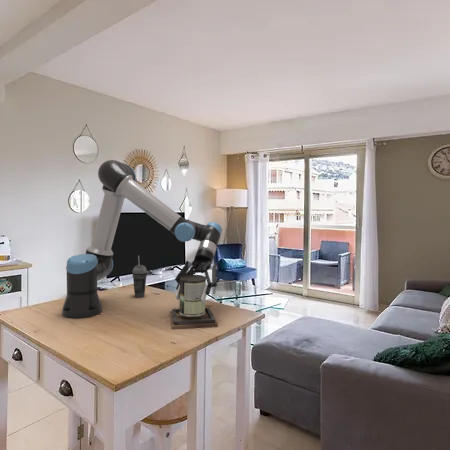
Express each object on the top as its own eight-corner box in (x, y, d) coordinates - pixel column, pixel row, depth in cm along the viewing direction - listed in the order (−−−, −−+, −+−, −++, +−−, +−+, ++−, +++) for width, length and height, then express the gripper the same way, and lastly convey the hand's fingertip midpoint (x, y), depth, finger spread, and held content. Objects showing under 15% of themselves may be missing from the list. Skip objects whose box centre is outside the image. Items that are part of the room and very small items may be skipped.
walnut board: (169, 314, 139) (169, 308, 139) (210, 312, 143) (210, 306, 143) (171, 329, 123) (171, 322, 123) (217, 326, 126) (217, 320, 126)
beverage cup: (136, 299, 160) (136, 257, 159) (129, 295, 166) (129, 255, 165) (149, 296, 165) (150, 256, 164) (142, 293, 171) (143, 254, 169)
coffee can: (173, 313, 131) (174, 277, 130) (190, 307, 140) (191, 273, 139) (194, 319, 125) (194, 281, 124) (210, 311, 134) (211, 276, 133)
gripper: (232, 260, 143) (219, 307, 129) (184, 256, 150) (166, 301, 136) (229, 249, 137) (215, 297, 123) (178, 246, 144) (160, 291, 130)
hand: (189, 299), depth 129 cm, fingers closed on coffee can, 10 cm apart
